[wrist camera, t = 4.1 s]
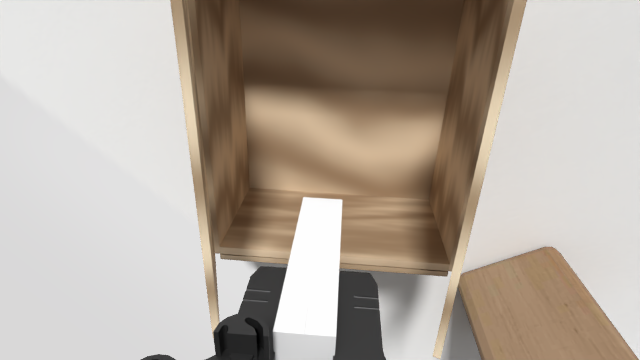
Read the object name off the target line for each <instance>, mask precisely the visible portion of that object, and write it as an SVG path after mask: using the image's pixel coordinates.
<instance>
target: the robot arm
mask: <svg viewBox="0 0 640 360" xmlns="http://www.w3.org/2000/svg"><path fill="white" fill-rule="evenodd" d="M341 220H342V200H341V199H325V198H309V197H303V201H302V205H301V210H300V214H299V218H298V223H297V227H296V232H295V236H294V240H293V245H292V249H291V254H290V258H289V263H288V267H287V268H277V267H263V266H261V267H260V268H259V269H258V270H257V271H256V272H255V273H254V274H253V275H252V276H251V277H250V280H249V283H248V286H247V290H246V292H245V295H244V298H243V301H242V304H241V306H240V310H239V312H238V314H236V315H233V316H230V317H227V318H226V319H224V320H223V321H222V322H220V323H219V324H218V325H217V327H216V328H215V330H214V331H213V336H214V343H215V352H216V355H214V356H212V357H210V358H208V359H206V360H386V358H385V356H384V353H383V348H382V336H381V323H380V311H379V300H378V286H377V283H376V282H375V280H374V279H373V277H372V276H371V274H370V273H361V272H347V271H339V264H340V242H341ZM141 360H175V359H174V358H172V357H170V356H168V355H160V354H158V355H153V356H147V357H145V358H143V359H141Z"/></svg>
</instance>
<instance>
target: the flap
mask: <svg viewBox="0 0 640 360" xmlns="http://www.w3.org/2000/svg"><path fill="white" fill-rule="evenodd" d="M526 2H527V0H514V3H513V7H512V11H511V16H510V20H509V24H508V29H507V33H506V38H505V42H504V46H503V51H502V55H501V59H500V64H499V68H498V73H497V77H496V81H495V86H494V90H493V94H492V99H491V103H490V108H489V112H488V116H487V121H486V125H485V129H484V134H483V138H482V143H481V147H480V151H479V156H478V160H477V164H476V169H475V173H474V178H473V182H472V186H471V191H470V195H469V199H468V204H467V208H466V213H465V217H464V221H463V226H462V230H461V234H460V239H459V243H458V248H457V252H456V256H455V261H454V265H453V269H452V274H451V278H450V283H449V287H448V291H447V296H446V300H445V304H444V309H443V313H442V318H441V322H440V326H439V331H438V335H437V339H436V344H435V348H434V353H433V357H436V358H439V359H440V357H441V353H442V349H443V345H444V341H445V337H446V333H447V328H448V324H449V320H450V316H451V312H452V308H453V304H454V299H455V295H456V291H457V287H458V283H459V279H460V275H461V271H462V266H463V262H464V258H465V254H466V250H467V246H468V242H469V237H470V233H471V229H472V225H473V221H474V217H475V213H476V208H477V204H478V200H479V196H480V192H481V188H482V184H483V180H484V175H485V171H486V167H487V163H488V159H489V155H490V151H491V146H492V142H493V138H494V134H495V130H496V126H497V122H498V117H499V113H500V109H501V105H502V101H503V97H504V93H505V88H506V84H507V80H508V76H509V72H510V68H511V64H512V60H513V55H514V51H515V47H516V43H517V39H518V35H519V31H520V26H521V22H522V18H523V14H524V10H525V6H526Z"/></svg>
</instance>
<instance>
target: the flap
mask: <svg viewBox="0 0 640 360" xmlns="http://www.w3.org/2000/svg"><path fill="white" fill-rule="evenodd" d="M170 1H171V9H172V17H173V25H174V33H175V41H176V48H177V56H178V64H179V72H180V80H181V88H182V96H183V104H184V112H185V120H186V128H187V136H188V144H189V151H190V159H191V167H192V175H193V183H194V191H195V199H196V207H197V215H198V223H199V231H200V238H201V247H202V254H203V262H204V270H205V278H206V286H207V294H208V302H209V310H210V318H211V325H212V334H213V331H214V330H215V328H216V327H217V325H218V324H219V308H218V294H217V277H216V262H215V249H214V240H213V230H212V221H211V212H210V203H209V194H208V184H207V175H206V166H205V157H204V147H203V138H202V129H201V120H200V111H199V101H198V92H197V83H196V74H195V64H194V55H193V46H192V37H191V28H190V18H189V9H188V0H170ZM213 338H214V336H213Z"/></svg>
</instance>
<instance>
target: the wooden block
mask: <svg viewBox="0 0 640 360" xmlns="http://www.w3.org/2000/svg"><path fill="white" fill-rule="evenodd" d="M458 289H459V292H460V295H461V298H462V301H463V304H464V307H465V310H466V313H467V316H468V319H469V322H470V325H471V328H472V331H473V335H474V338H475V341H476V344H477V347H478V350H479V353H480V356H481V359H482V360H639V359H638V358H637V356H636V355H635V354H634V352H633V351H632V350H631V348H630V347H629V346H628V344H627V343H626V342H625V340H624V339H623V337H622V336H621V335H620V333H619V332H618V331H617V329H616V328H615V327H614V325H613V324H612V323H611V321H610V320H609V319H608V317H607V316H606V314H605V313H604V312H603V310H602V309H601V308H600V306H599V305H598V304H597V302H596V301H595V300H594V298H593V297H592V295H591V294H590V293H589V291H588V290H587V289H586V287H585V286H584V285H583V283H582V282H581V281H580V279H579V278H578V276H577V275H576V274H575V272H574V271H573V270H572V268H571V267H570V266H569V264H568V263H567V262H566V260H565V259H564V257H563V256H562V255H561V253H559V252H558V251H557V250H556V249H555V248H553V247H543V248H540V249H537V250H534V251H531V252H528V253H525V254H521V255H518V256H515V257H512V258H509V259H506V260H503V261H500V262H497V263H493V264H490V265H487V266H484V267H481V268H478V269H475V270H472V271H469V272H465V273H463V274H462V275H460V279H459V283H458Z"/></svg>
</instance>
